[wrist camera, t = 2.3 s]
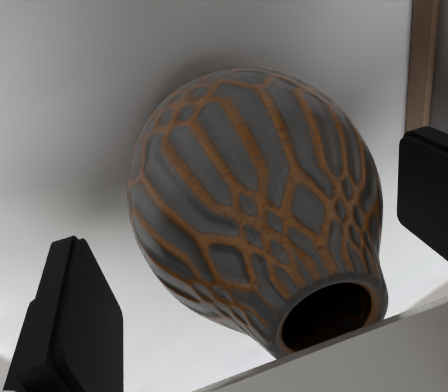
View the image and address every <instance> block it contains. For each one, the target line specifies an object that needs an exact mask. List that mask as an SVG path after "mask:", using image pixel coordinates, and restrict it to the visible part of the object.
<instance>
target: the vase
mask: <svg viewBox="0 0 448 392" xmlns="http://www.w3.org/2000/svg"><path fill="white" fill-rule="evenodd" d="M127 199H128V208H129V216H130V221H131V225H132V228H133V232H134V235H135V238H136V240H137V243H138V245H139V247H140V249H141V251H142V253H143V255H144V257H145V259H146V261H147V263H148V264H149V266H150V267H151V269H152V270H153V272H154V274H155V275H156V276H157V278H158V279H159V280H160V281H161V283H162V284H163V285H164V286H165V288H166V289H167V290H168V291H169V292H170V293H171V294H172V295H173V296H174V297H175V298H176V299H178V300H179V301H180V302H181V303H182V304H184V305H185V306H186V307H188V308H189V309H191V310H192V311H194V312H196V313H197V314H199V315H201V316H203V317H205V318H207V319H209V320H211V321H213V322H216V323H218V324H220V325H223V326H225V327H228V328H230V329H233V330H236V331H238V332H241V333H244V334H246V335H248V336H250V337H251V338H253V339H254V340H255V341H257V342H258V343H259V344H260V345H261V346H262V347H263V348H264V349H266V350H267V351H268V352H269V353H270V354H271V355H272V356H273V357H275V358H276V359H280V358H282V357H285V356H288V355H290V354H293V353H296V352H298V351H301V350H304V349H306V348H309V347H312V346H314V345H317V344H320V343H322V342H325V341H328V340H330V339H333V338H336V337H338V336H341V335H344V334H346V333H349V332H352V331H355V330H357V329H360V328H363V327H365V326H368V325H371V324H373V323H376V322H379V321H381V320H383V319H384V317H385V314H386V311H387V307H388V292H387V288H386V284H385V280H384V277H383V274H382V270H381V266H380V261H379V250H380V242H381V231H382V217H383V198H382V190H381V183H380V178H379V175H378V171H377V168H376V165H375V162H374V160H373V157H372V155H371V153H370V151H369V149H368V147H367V145H366V143H365V141H364V140H363V138H362V136H361V135H360V133H359V132H358V130H357V129H356V127H355V126H354V124H353V123H352V122H351V121H350V119H349V118H348V117H347V116H346V115H345V113H344V112H343V111H342V110H341V109H340V108H339V107H338V106H337V105H336V104H335V103H333V102H332V101H331V100H330V99H329V98H328V97H326V96H325V95H324V94H322V93H321V92H319V91H318V90H316V89H314V88H313V87H311V86H309V85H308V84H306V83H304V82H302V81H300V80H297V79H295V78H292V77H290V76H287V75H284V74H281V73H278V72H274V71H270V70H265V69H260V68H230V69H224V70H218V71H215V72H211V73H207V74H205V75H202V76H199V77H197V78H195V79H193V80H191V81H189V82H187V83H185V84H184V85H182V86H180V87H179V88H177V89H176V90H175V91H173V92H172V93H171V94H170V95H168V96H167V97H166V98H165V99H164V100H163V101H162V102H161V103H160V104H159V105H158V106H157V107H156V109H155V110H154V111H153V112H152V114H151V115H150V117H149V118H148V120H147V121H146V123H145V124H144V126H143V128H142V129H141V131H140V133H139V135H138V138H137V140H136V142H135V145H134V148H133V152H132V155H131V160H130V166H129V171H128V185H127Z"/></svg>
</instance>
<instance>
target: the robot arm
mask: <svg viewBox="0 0 448 392" xmlns="http://www.w3.org/2000/svg"><path fill="white" fill-rule="evenodd" d="M397 217H398V219H399V221H400V223H401V224H402V225H403V226H404V227H405V228H407V229H408V230H409V231H410V232H412V233H413V234H414V235H416V236H417V237H418V238H419V239H421V240H422V241H423V242H424V243H426V244H427V245H428V246H429V247H431V248H432V249H433V250H434V251H436V252H437V253H438V254H439V255H441V256H442V257H443V258H444V259H446V260H447V261H448V134H447V133H444V132H442V131H439V130H437V129H435V128H432V127H430V126H423V127H420V128H417V129H414V130H411V131H407V132H406V133H405V134H404V136H403V138H402V139H401V140H400V143H399V167H398V196H397ZM1 392H123V316H122V312H121V309H120V306H119V304H118V302H117V300H116V298H115V296H114V294H113V293H112V291H111V289H110V287H109V285H108V283H107V281H106V279H105V277H104V275H103V273H102V271H101V269H100V267H99V265H98V263H97V261H96V259H95V257H94V255H93V253H92V251H91V249H90V247H89V245H88V243H87V242H86V240H85V239H84V238H82V239H79V240H78V238H77V237H76V236H71V237H68V238H64V239H61V240H58V241H55V242H52V244H51V246H50V250H49V253H48V256H47V260H46V263H45V267H44V270H43V273H42V277H41V280H40V284H39V287H38V291H37V294H36V297H35V299H34V300H33V301H31V302H30V304H29V307H28V310H27V313H26V316H25V319H24V323H23V326H22V329H21V332H20V336H19V339H18V342H17V346H16V349H15V352H14V355H13V359H12V362H11V365H10V368H9V372H8V375H7V378H6V381H5V385H4V388H3V391H1ZM193 392H448V296H447V297H444V298H441V299H438V300H436V301H433V302H430V303H428V304H425V305H422V306H419V307H417V308H414V309H411V310H409V311H406V312H403V313H400V314H398V315H395V316H392V317H390V318H387V319H384V320H381V321H379V322H376V323H373V324H371V325H368V326H365V327H363V328H360V329H357V330H355V331H352V332H349V333H346V334H344V335H341V336H338V337H336V338H333V339H330V340H328V341H325V342H322V343H320V344H317V345H314V346H312V347H309V348H306V349H304V350H301V351H298V352H296V353H293V354H290V355H288V356H285V357H282V358H280V359H277V360H274V361H272V362H269V363H266V364H264V365H261V366H258V367H256V368H253V369H250V370H248V371H245V372H242V373H240V374H237V375H235V376H232V377H229V378H227V379H224V380H221V381H219V382H216V383H213V384H211V385H208V386H206V387H203V388H200V389H198V390H195V391H193Z"/></svg>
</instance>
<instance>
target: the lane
mask: <svg viewBox="0 0 448 392" xmlns="http://www.w3.org/2000/svg"><path fill="white" fill-rule="evenodd" d="M423 126H430V127H432V128H435V129H437V130H439V131H442V132H444V133H447V134H448V0H413V15H412V32H411V48H410V64H409V81H408V97H407V114H406V130H405V133H406V132H407V131H411V130H414V129H417V128H420V127H423Z"/></svg>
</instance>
